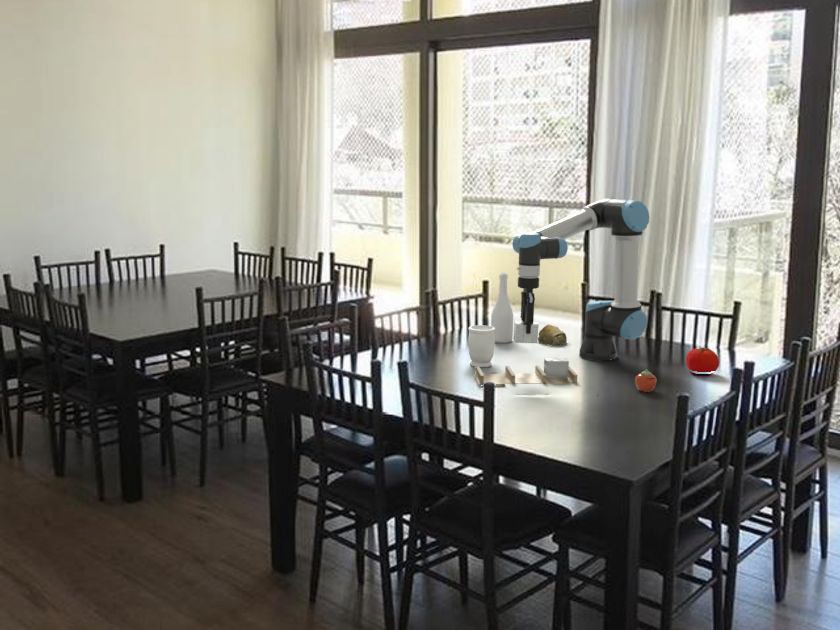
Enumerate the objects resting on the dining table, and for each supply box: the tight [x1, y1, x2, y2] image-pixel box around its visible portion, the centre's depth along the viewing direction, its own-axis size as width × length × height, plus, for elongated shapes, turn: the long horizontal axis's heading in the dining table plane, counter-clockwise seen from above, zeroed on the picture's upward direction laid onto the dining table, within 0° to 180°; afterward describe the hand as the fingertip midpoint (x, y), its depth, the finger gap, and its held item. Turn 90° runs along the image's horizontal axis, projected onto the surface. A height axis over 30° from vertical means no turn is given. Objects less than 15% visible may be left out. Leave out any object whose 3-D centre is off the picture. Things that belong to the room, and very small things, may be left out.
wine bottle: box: [490, 272, 514, 344], centre depth 381 cm, size 10×10×30 cm
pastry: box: [538, 324, 568, 347], centre depth 381 cm, size 14×12×8 cm
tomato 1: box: [634, 368, 658, 392], centre depth 307 cm, size 7×7×8 cm
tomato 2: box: [685, 345, 720, 372], centre depth 331 cm, size 11×13×10 cm
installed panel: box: [543, 357, 570, 380], centre depth 318 cm, size 8×4×7 cm, turn 94°
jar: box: [467, 324, 496, 368], centre depth 340 cm, size 11×10×15 cm
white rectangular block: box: [512, 320, 539, 344], centre depth 315 cm, size 8×4×7 cm, turn 93°
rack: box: [473, 365, 579, 388], centre depth 317 cm, size 36×15×4 cm, turn 94°
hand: (526, 340), depth 316 cm, fingers closed on white rectangular block, 4 cm apart
